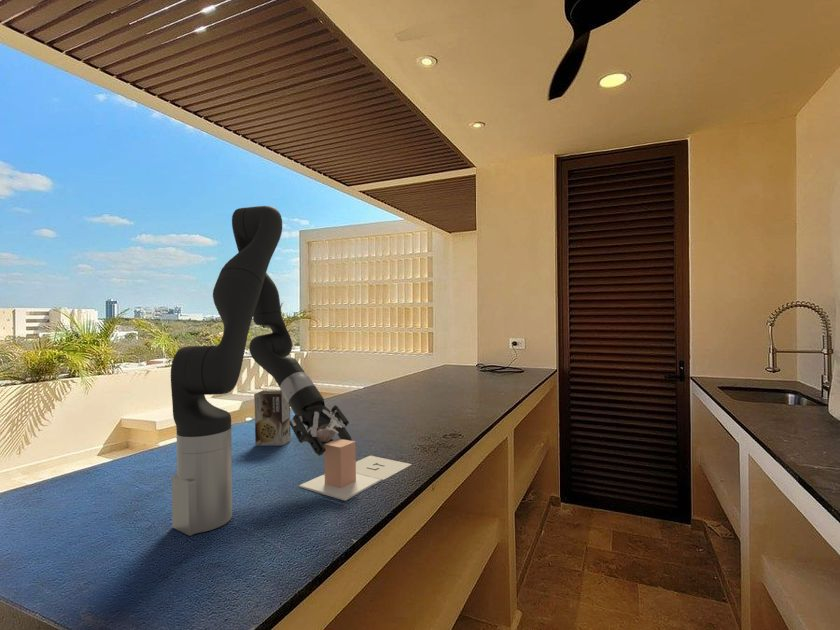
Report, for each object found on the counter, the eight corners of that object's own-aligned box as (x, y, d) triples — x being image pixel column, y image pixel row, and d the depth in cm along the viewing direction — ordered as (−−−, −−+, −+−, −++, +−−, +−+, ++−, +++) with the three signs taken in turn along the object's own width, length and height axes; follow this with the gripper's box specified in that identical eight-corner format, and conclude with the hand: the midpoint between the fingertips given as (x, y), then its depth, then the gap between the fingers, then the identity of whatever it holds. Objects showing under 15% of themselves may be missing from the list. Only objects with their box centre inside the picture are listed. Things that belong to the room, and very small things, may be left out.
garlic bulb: (329, 444, 126) (329, 418, 126) (307, 443, 128) (307, 417, 128) (339, 437, 133) (339, 413, 134) (318, 436, 135) (318, 412, 135)
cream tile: (383, 480, 96) (383, 479, 96) (339, 469, 104) (339, 469, 104) (411, 464, 106) (411, 464, 106) (370, 456, 114) (370, 455, 114)
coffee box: (291, 440, 131) (290, 389, 132) (282, 446, 125) (282, 393, 125) (264, 439, 132) (263, 389, 132) (254, 445, 126) (253, 393, 126)
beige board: (345, 501, 85) (345, 498, 85) (299, 487, 93) (299, 485, 93) (380, 481, 95) (380, 479, 95) (336, 471, 103) (336, 468, 103)
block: (341, 488, 91) (340, 447, 91) (324, 483, 93) (324, 444, 94) (355, 480, 95) (355, 441, 95) (339, 476, 98) (339, 438, 98)
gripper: (285, 388, 94) (321, 446, 87) (330, 380, 106) (365, 431, 99) (270, 409, 97) (304, 467, 90) (316, 399, 109) (349, 449, 102)
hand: (336, 448), depth 95 cm, fingers open, 8 cm apart
